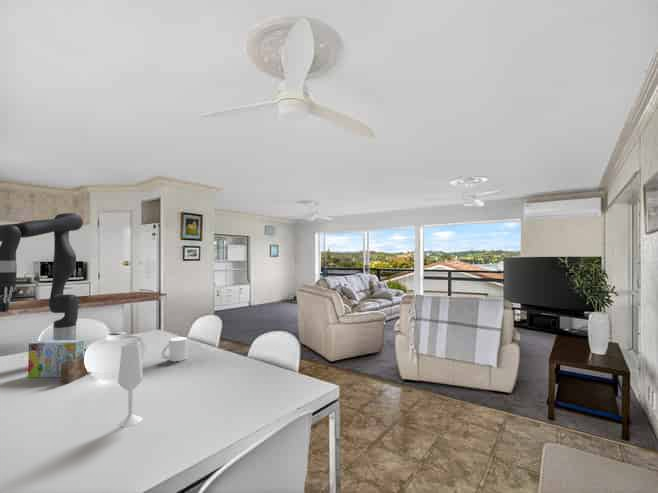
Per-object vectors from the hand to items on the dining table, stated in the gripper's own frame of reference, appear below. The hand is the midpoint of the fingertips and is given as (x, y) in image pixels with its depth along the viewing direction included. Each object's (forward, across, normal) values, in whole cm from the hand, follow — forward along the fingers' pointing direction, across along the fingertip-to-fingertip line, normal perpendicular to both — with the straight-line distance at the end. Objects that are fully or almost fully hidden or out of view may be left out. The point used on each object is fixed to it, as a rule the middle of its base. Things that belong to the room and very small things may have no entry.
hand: (4, 311), depth 146 cm
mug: (+29, +27, -61) cm, 73 cm away
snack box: (+29, +6, -18) cm, 35 cm away
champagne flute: (+29, -37, -78) cm, 91 cm away
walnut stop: (+29, +3, -30) cm, 42 cm away
